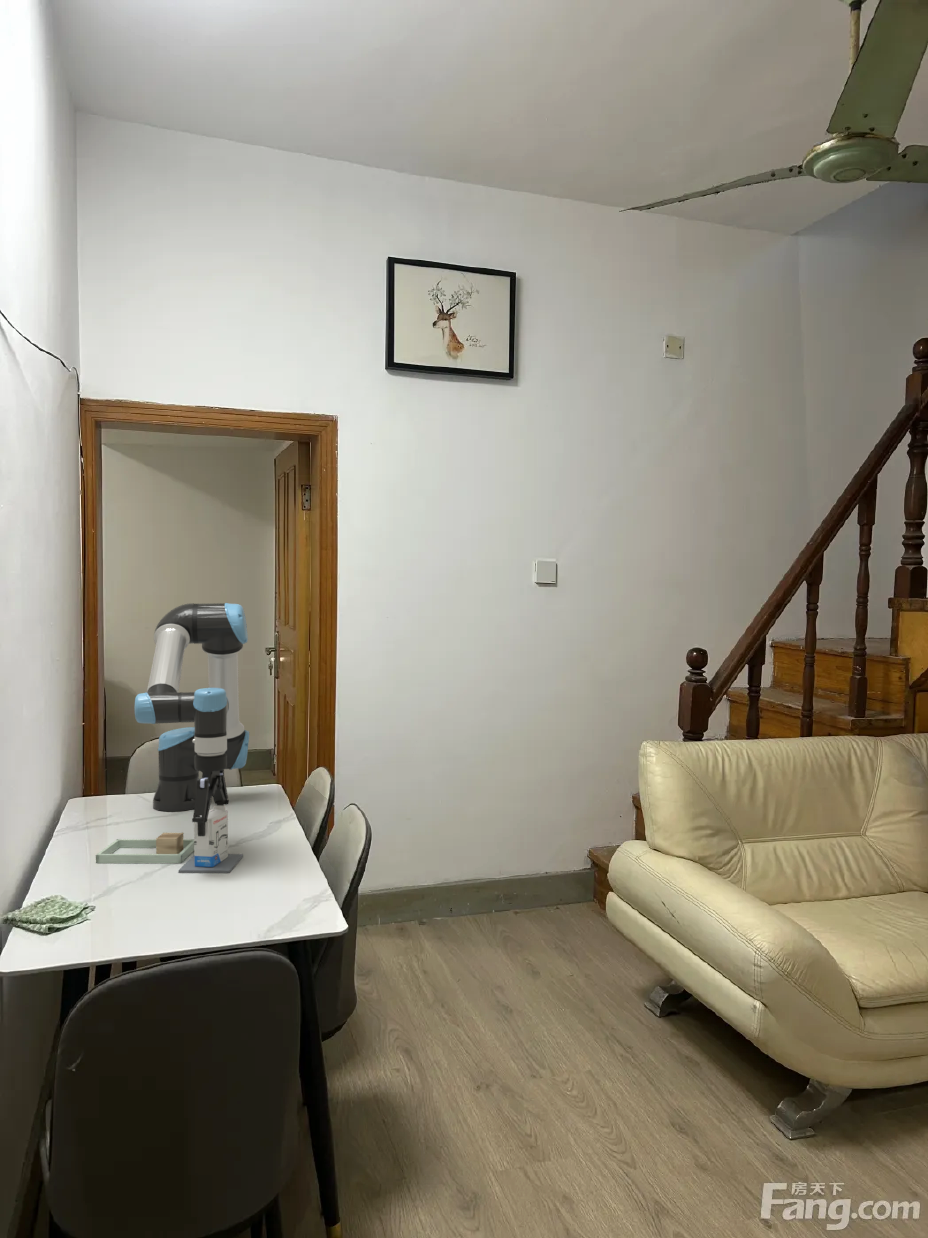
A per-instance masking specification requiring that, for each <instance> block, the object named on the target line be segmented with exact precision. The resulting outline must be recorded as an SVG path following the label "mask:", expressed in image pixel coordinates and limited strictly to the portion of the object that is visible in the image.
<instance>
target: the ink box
mask: <svg viewBox="0 0 928 1238" xmlns="http://www.w3.org/2000/svg"><path fill="white" fill-rule="evenodd" d="M228 818H229V811H228V810H226V809H225V810H215V809H214V808H212V809H209V814H208V819H207V821H209V849H197V841H196V822H193V839H194V851H193V853H194V854H193V855H194V860H195V866H198V867H214V866H215V865H217V864H218V863H220V862H221V861H223V860H224V859H226V858H227V857H228V854H229V830H228V829H229V827H228V826H229V821H228V820H229V819H228Z"/></svg>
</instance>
